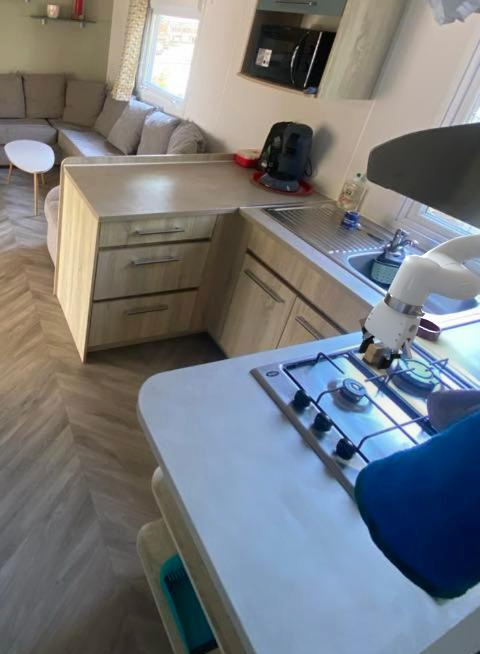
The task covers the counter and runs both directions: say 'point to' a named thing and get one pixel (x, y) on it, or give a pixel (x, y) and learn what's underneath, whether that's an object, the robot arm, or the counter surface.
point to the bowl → (428, 329)
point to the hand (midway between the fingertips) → (372, 359)
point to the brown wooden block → (374, 354)
